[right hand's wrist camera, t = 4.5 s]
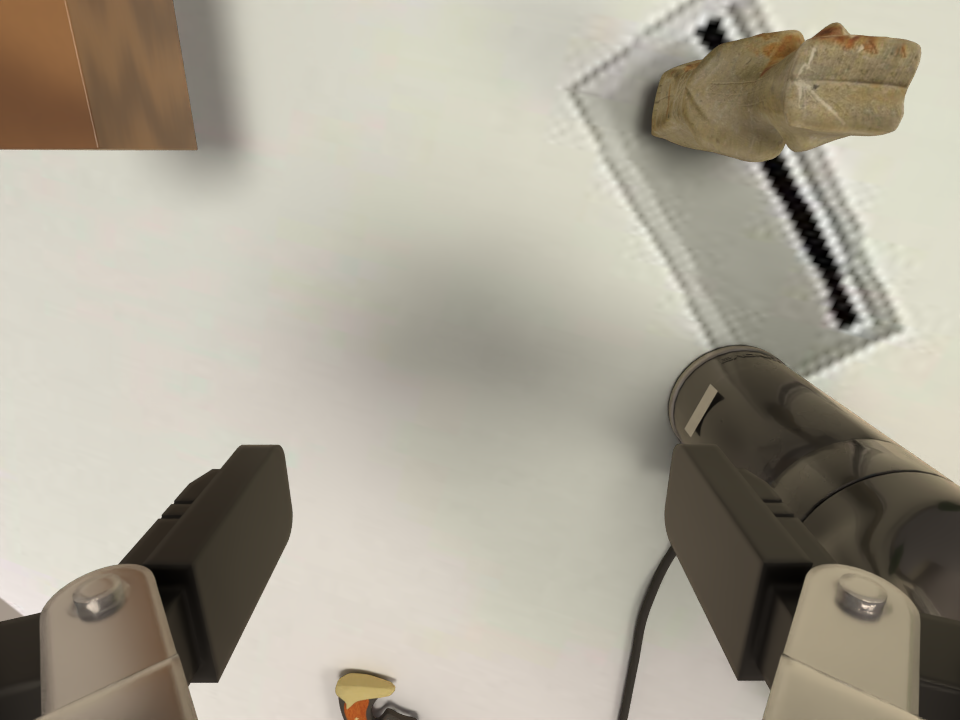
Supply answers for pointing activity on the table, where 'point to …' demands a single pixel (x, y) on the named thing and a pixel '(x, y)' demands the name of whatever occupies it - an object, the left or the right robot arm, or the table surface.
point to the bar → (92, 76)
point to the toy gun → (364, 697)
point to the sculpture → (785, 93)
